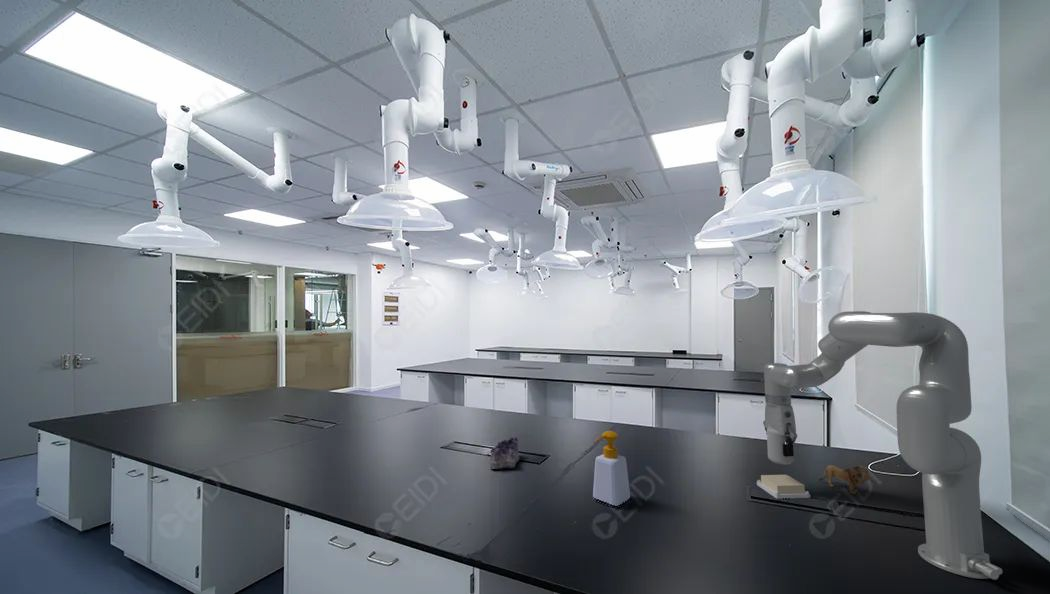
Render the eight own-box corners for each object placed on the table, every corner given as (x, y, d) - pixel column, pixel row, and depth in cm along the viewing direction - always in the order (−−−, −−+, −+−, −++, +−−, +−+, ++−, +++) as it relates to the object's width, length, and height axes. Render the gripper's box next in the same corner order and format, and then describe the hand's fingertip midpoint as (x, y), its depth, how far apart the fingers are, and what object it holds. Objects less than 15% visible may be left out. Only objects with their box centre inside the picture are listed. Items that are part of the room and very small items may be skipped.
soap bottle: (583, 504, 129) (581, 434, 130) (607, 491, 139) (605, 425, 140) (608, 514, 123) (606, 440, 124) (632, 499, 132) (630, 430, 134)
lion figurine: (873, 494, 134) (871, 466, 134) (867, 498, 131) (865, 469, 131) (821, 479, 146) (820, 454, 146) (815, 483, 143) (813, 457, 143)
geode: (497, 454, 179) (500, 431, 180) (523, 459, 177) (525, 436, 178) (484, 469, 160) (487, 444, 160) (512, 475, 157) (515, 449, 158)
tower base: (810, 498, 131) (809, 486, 132) (776, 498, 131) (776, 487, 131) (787, 484, 142) (787, 473, 143) (756, 484, 142) (756, 474, 142)
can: (794, 467, 132) (792, 429, 133) (767, 463, 136) (766, 427, 137) (793, 460, 139) (791, 424, 139) (768, 456, 143) (766, 421, 143)
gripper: (806, 405, 130) (809, 460, 129) (772, 394, 147) (775, 443, 146) (783, 405, 130) (786, 461, 129) (752, 395, 147) (754, 444, 146)
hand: (780, 451), depth 138 cm, fingers closed on can, 7 cm apart
